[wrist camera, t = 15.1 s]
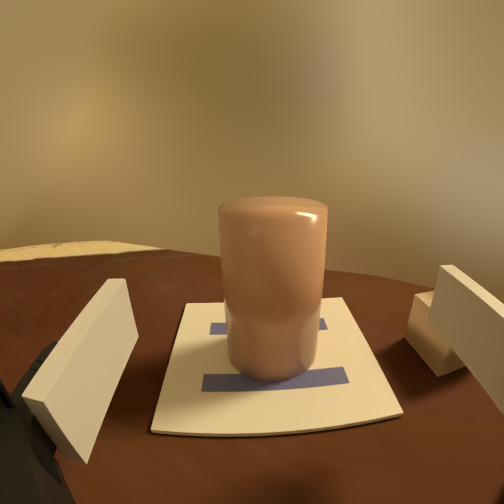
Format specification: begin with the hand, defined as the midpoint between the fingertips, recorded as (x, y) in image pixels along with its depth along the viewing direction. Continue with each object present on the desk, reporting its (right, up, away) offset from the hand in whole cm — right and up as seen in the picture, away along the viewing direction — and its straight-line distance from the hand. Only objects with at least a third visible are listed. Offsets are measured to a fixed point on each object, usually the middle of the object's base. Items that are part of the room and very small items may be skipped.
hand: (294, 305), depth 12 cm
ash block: (+13, -5, +8) cm, 16 cm away
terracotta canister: (0, -5, +9) cm, 10 cm away
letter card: (0, -5, +9) cm, 10 cm away
